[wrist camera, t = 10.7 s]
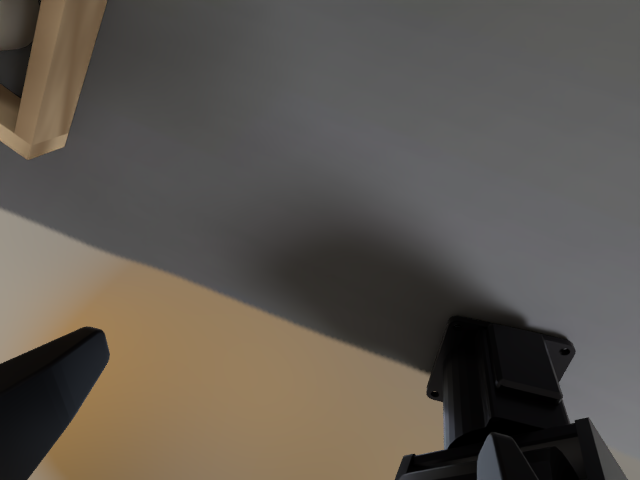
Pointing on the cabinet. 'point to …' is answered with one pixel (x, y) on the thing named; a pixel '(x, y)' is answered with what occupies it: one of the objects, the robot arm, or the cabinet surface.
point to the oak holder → (51, 77)
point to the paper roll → (17, 23)
